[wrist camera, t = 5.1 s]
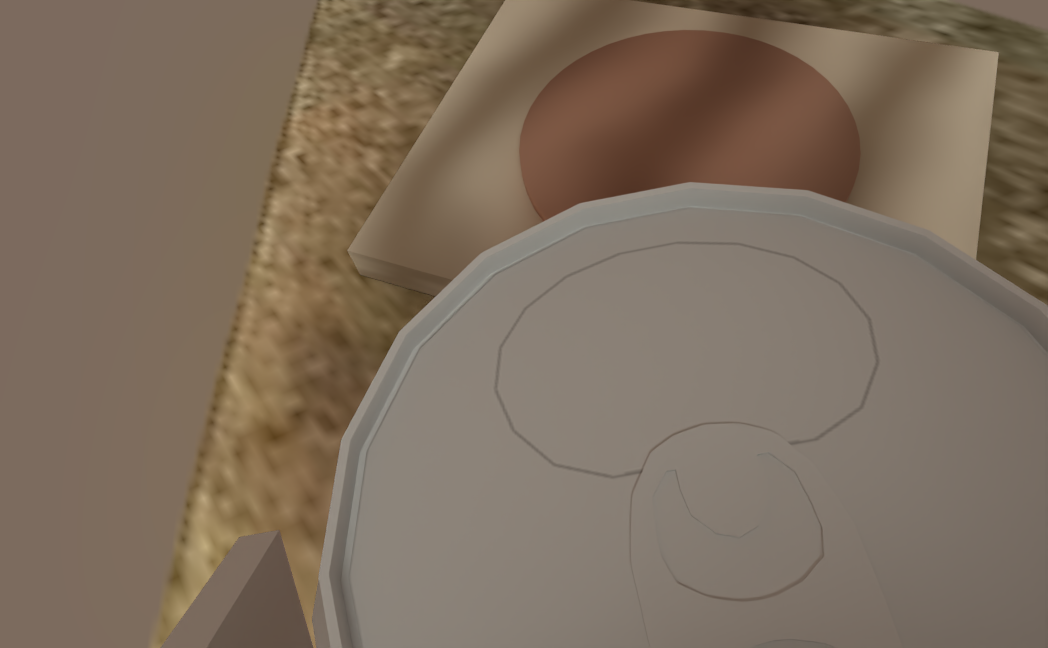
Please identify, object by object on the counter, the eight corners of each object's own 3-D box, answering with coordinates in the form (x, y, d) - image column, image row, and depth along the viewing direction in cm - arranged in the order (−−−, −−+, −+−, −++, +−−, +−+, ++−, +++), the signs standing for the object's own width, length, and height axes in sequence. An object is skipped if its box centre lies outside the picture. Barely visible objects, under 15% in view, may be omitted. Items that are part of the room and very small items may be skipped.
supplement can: (480, 547, 21) (266, 222, 8) (756, 496, 21) (983, 82, 8) (521, 894, 16) (199, 1385, 4) (870, 832, 16) (1767, 1116, 4)
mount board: (981, 84, 28) (1006, 38, 26) (937, 441, 21) (967, 412, 19) (519, 13, 34) (514, -29, 32) (360, 274, 26) (341, 240, 25)
